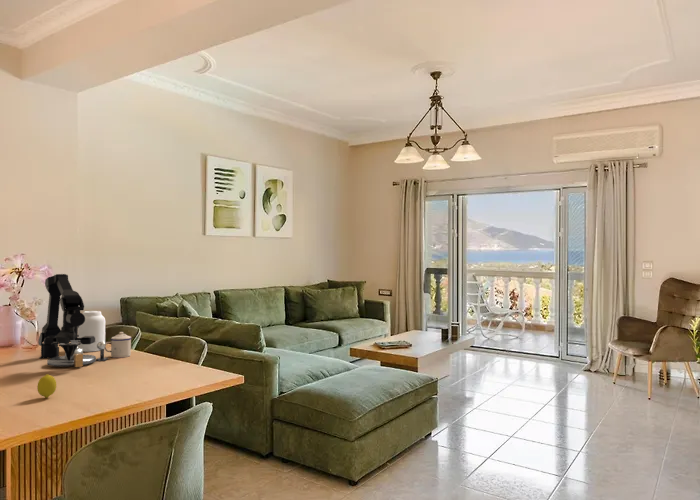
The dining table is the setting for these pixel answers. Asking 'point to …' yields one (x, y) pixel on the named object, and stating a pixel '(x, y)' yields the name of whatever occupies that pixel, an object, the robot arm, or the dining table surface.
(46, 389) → the lemon
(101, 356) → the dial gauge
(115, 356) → the teacup with lid
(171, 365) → the dining table surface
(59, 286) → the robot arm
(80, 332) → the white jar
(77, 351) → the cover
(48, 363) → the platter
